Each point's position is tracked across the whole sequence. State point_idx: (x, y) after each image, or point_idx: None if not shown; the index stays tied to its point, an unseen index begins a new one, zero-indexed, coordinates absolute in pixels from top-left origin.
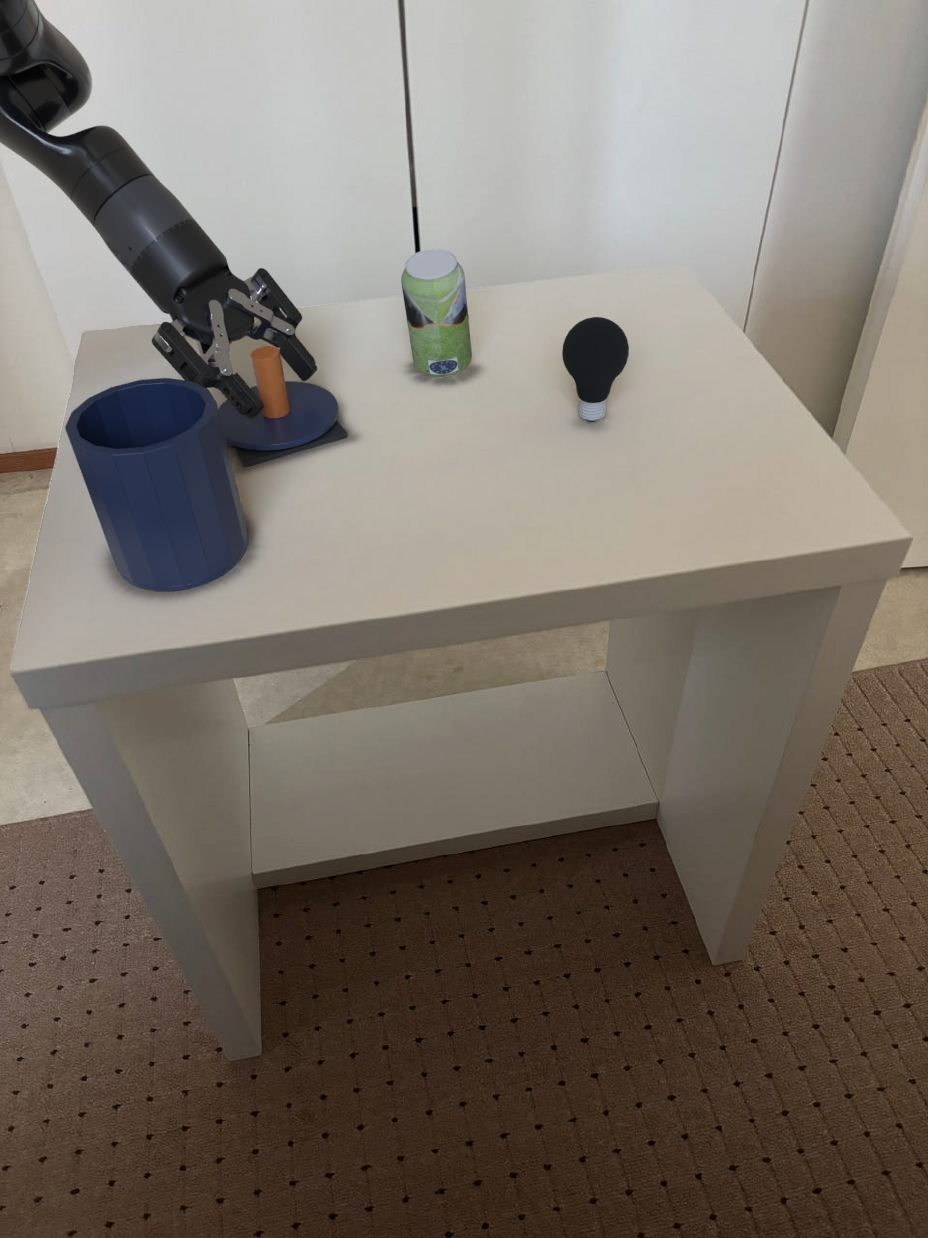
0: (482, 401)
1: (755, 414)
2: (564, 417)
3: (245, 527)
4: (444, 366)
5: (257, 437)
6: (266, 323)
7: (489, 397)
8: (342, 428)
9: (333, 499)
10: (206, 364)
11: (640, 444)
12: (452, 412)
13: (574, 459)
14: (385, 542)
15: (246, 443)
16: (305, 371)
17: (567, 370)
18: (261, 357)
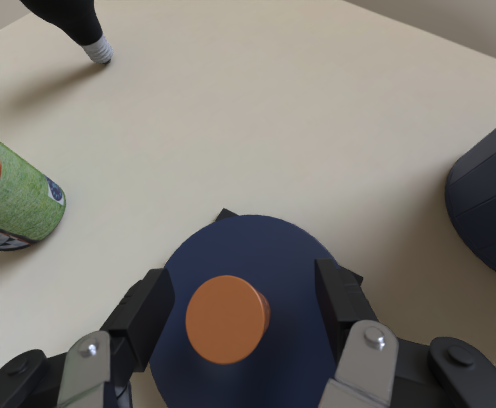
0: (100, 142)
1: None
2: (107, 78)
3: (467, 152)
4: (53, 183)
5: None
6: (111, 398)
7: (90, 141)
8: (217, 219)
9: (332, 144)
10: (454, 382)
11: (128, 28)
12: (129, 152)
13: (165, 45)
14: (348, 73)
15: None
16: (167, 287)
17: (81, 8)
18: (250, 304)
